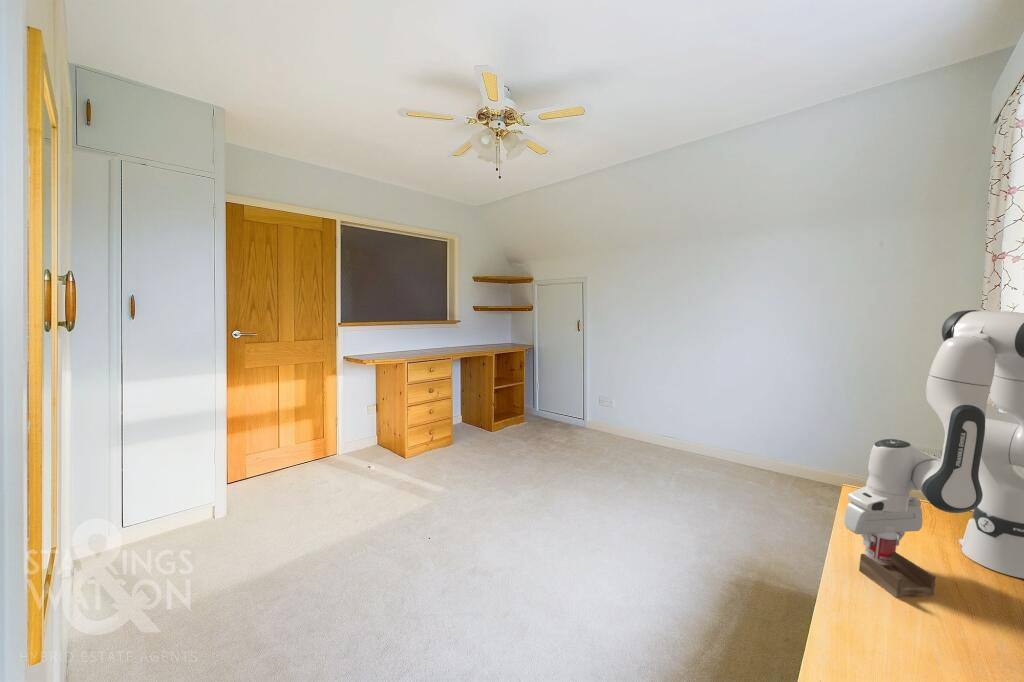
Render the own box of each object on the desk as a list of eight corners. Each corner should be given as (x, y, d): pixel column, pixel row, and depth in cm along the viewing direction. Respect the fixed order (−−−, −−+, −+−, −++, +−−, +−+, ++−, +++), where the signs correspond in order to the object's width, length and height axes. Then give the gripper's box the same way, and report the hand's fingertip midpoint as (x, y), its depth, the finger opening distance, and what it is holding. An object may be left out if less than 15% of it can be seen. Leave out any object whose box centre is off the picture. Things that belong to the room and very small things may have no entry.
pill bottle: (897, 561, 116) (901, 523, 115) (889, 569, 113) (894, 530, 112) (869, 549, 122) (873, 513, 120) (861, 557, 118) (865, 520, 117)
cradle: (893, 568, 113) (895, 551, 113) (933, 595, 103) (935, 577, 103) (858, 570, 112) (860, 553, 112) (896, 597, 103) (898, 579, 102)
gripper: (909, 491, 119) (903, 536, 121) (842, 494, 117) (837, 540, 119) (933, 502, 113) (926, 550, 115) (863, 505, 111) (857, 554, 113)
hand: (880, 545), depth 117 cm, fingers closed on pill bottle, 6 cm apart
